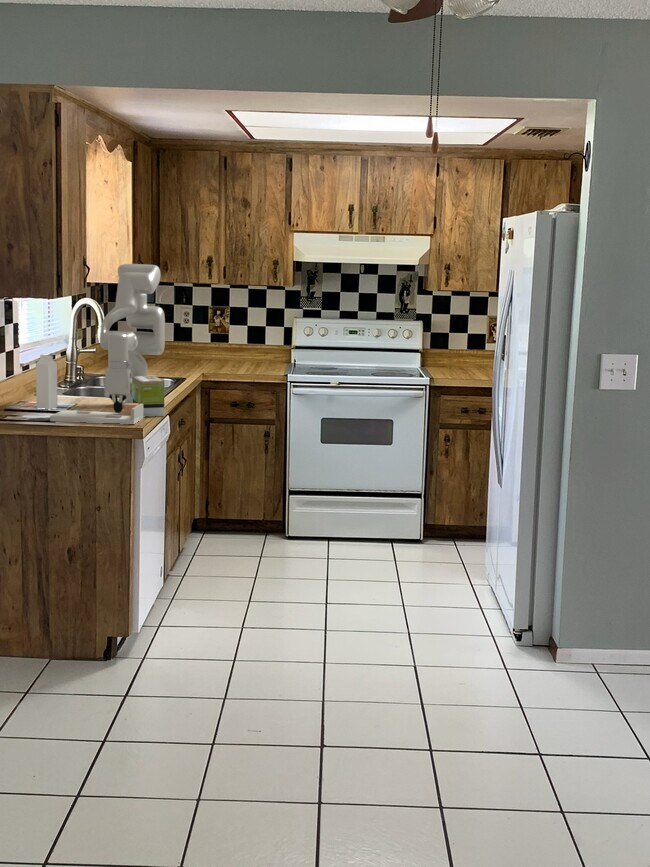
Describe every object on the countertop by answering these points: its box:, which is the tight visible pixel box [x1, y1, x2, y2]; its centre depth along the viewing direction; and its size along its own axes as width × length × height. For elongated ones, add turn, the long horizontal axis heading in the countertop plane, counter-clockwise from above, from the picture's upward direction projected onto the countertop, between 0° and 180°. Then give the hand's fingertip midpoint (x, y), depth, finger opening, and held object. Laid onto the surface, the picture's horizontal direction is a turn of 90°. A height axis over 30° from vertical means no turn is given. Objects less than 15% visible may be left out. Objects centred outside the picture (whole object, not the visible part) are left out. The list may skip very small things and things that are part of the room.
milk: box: [35, 354, 59, 409], centre depth 387 cm, size 6×6×22 cm
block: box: [123, 403, 139, 415], centre depth 371 cm, size 5×5×4 cm
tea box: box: [132, 375, 165, 418], centre depth 385 cm, size 15×10×15 cm
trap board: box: [49, 404, 144, 425], centre depth 366 cm, size 15×32×6 cm, turn 87°
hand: (118, 412), depth 370 cm, fingers closed
